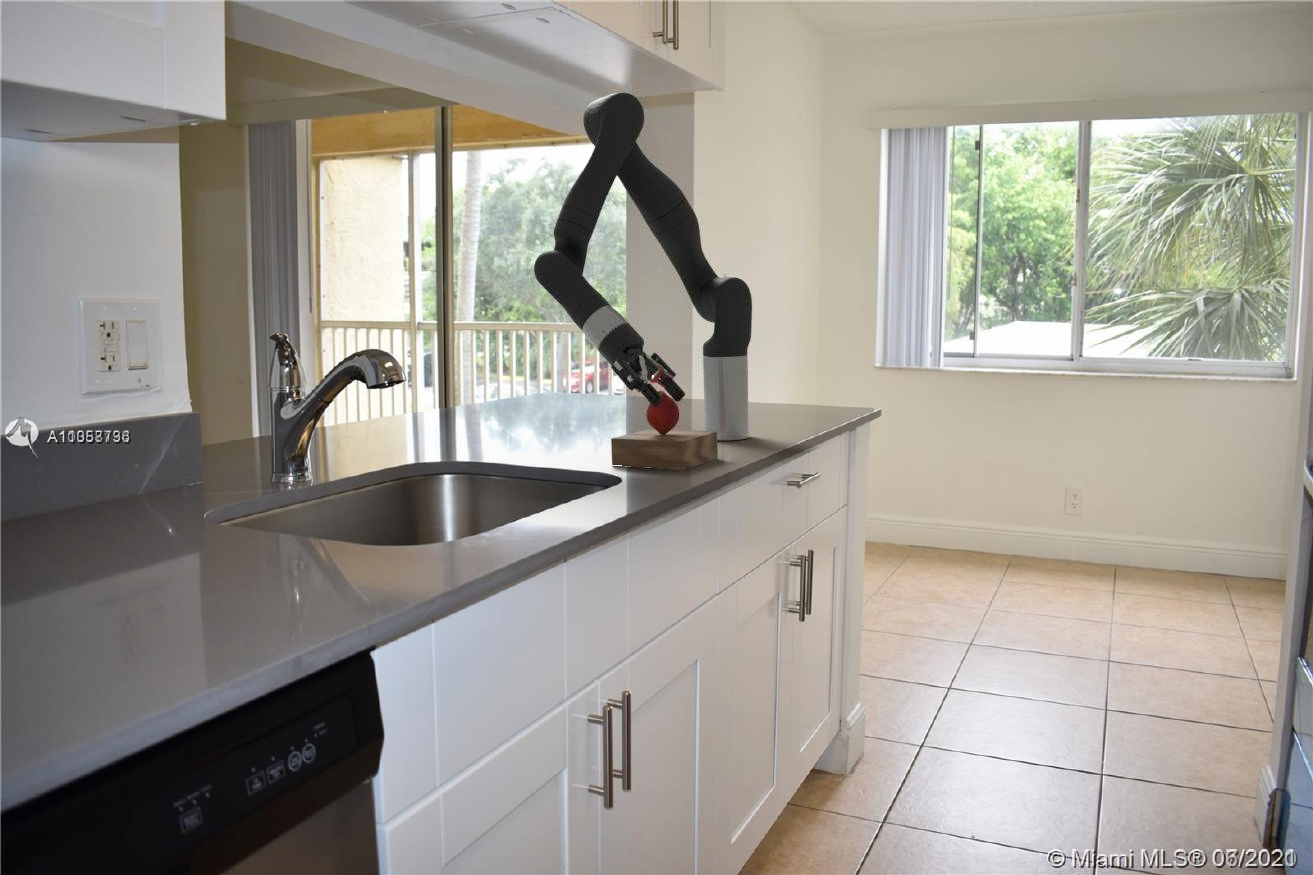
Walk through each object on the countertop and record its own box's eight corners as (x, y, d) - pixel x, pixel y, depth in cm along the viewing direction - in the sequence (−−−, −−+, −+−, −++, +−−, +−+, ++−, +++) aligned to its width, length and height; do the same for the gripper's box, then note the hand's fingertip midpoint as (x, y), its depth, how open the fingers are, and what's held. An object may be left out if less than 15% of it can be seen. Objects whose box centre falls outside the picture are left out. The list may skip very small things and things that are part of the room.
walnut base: (650, 455, 188) (649, 428, 188) (717, 458, 182) (717, 431, 181) (612, 466, 176) (611, 438, 175) (682, 470, 169) (682, 441, 169)
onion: (665, 432, 182) (664, 388, 181) (686, 434, 178) (685, 389, 177) (640, 435, 178) (639, 390, 177) (661, 437, 174) (660, 392, 173)
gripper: (604, 322, 173) (664, 389, 169) (644, 320, 185) (701, 382, 181) (579, 353, 176) (638, 419, 172) (620, 349, 189) (676, 411, 185)
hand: (670, 400), depth 177 cm, fingers open, 8 cm apart
